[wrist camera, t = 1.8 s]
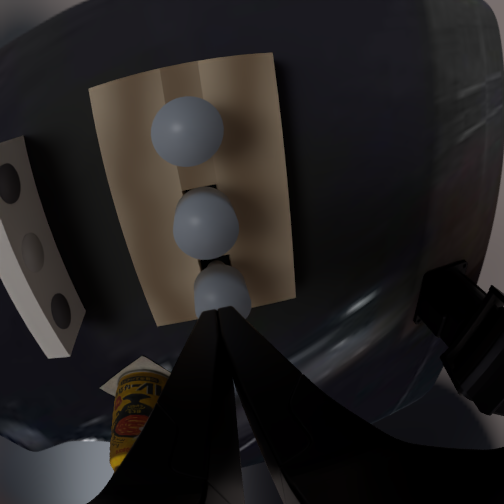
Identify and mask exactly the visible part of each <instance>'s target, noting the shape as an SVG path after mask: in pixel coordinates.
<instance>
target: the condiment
mask: <svg viewBox="0 0 504 504" xmlns="http://www.w3.org/2000/svg"><path fill="white" fill-rule="evenodd" d="M170 374H171V373H170V372H168V371H167V370H165V369H163V368H162V367H160V366H159V365H157V364H155V363H154V362H152V361H151V360H149V359H147V358H146V357H143V356H141V357H140V358H139V359H137V360H136V361H135V362H133V363H132V364H130V365H129V366H127V367H126V368H125V369H123V370H122V371H120V372H119V373H118V374H117V375H115V376H114V377H113V378H111V379H110V380H109V381H108V382H107V383H106V384H104V385H103V386H102V387H100V389H102V390H104V391H106V392H107V393H109V394H111V395H113V396H115V402H114V410H113V411H114V412H113V420H112V427H111V428H112V433H111V434H112V436H111V442H110V464H111V466H112V468H113V470H114V473H115V471H116V470H117V468H118V467H119V465H120V464H121V462H122V461H123V459H124V458H125V456H126V455H127V453H128V452H129V450H130V449H131V447H132V445H133V444H134V442H135V441H136V439H137V437H138V436H139V434H140V432H141V431H142V429H143V427H144V425H145V423H146V422H147V420H148V418H149V416H150V414H151V412H152V410H153V408H154V406H155V404H156V403H158V402H157V400H158V398H159V396H160V394H161V392H162V390H163V388H164V386H165V384H166V382H167V380H168V378H169V376H170Z"/></svg>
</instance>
